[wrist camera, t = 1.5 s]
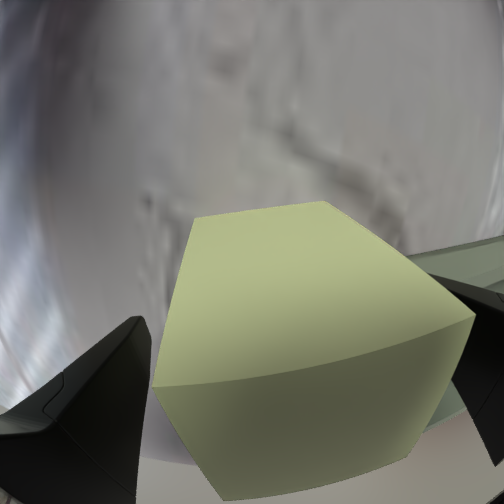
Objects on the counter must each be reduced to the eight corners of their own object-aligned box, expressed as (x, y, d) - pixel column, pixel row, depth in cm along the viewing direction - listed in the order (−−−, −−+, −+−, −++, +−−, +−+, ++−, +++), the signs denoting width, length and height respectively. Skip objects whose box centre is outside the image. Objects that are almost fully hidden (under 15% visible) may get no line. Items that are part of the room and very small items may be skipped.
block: (325, 200, 11) (475, 314, 4) (326, 309, 13) (406, 457, 5) (194, 218, 11) (152, 387, 3) (217, 327, 13) (223, 501, 5)
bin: (520, 231, 13) (550, 247, 10) (474, 372, 18) (492, 393, 15) (368, 263, 12) (403, 296, 9) (345, 426, 17) (357, 458, 14)
